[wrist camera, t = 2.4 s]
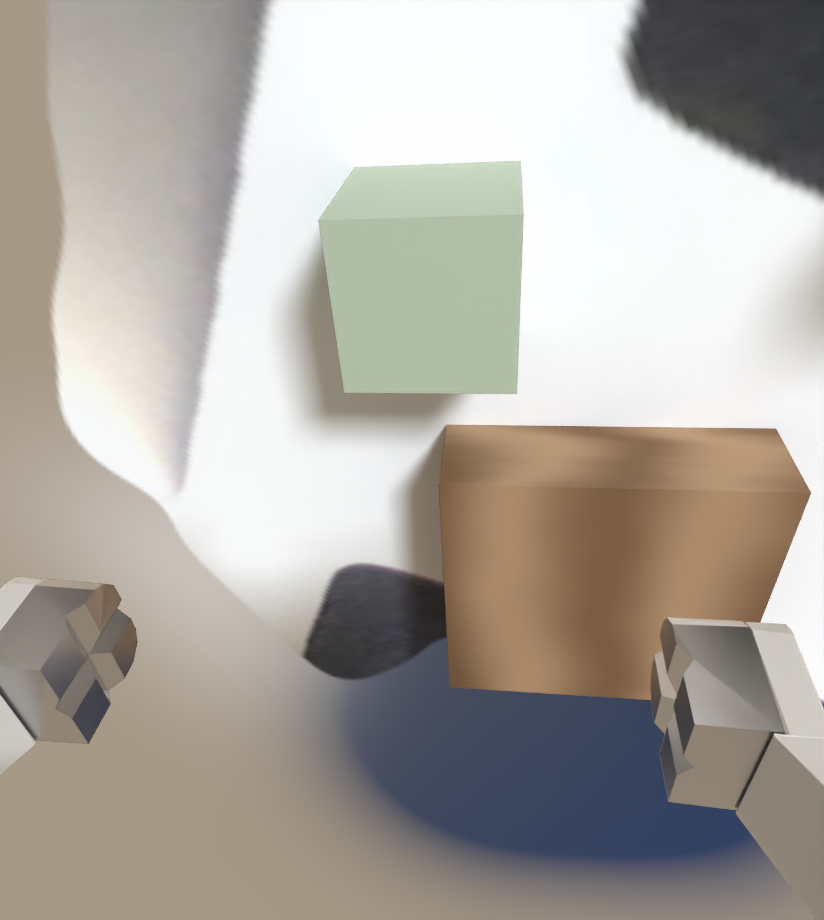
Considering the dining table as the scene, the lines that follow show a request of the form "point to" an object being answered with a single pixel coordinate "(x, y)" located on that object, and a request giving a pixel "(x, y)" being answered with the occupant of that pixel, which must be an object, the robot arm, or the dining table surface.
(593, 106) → the dining table surface
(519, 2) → the dining table surface
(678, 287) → the dining table surface
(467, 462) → the walnut block
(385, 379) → the green cube
